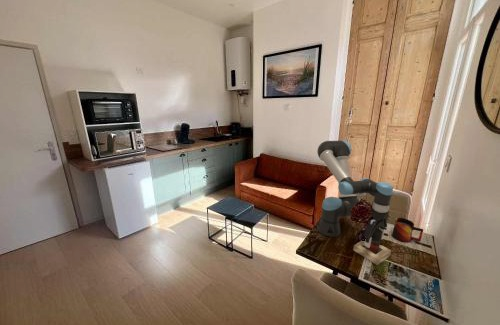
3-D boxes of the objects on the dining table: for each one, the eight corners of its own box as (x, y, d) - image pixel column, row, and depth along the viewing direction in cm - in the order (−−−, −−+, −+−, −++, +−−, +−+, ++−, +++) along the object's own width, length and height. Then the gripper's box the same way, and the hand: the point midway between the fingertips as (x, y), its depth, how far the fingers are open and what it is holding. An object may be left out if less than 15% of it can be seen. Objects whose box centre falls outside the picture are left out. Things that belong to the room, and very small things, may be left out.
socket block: (353, 250, 123) (354, 245, 122) (366, 242, 130) (367, 237, 129) (377, 265, 111) (378, 259, 110) (390, 255, 118) (391, 250, 117)
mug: (420, 243, 128) (425, 227, 125) (397, 242, 129) (401, 225, 126) (410, 234, 138) (414, 218, 134) (388, 233, 139) (392, 217, 135)
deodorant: (363, 249, 122) (368, 228, 118) (371, 248, 124) (376, 226, 119) (371, 256, 117) (376, 234, 112) (379, 255, 118) (385, 233, 114)
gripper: (374, 219, 103) (367, 254, 109) (398, 206, 115) (391, 238, 121) (360, 212, 109) (354, 246, 115) (384, 201, 122) (378, 232, 128)
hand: (373, 242), depth 118 cm, fingers open, 13 cm apart
